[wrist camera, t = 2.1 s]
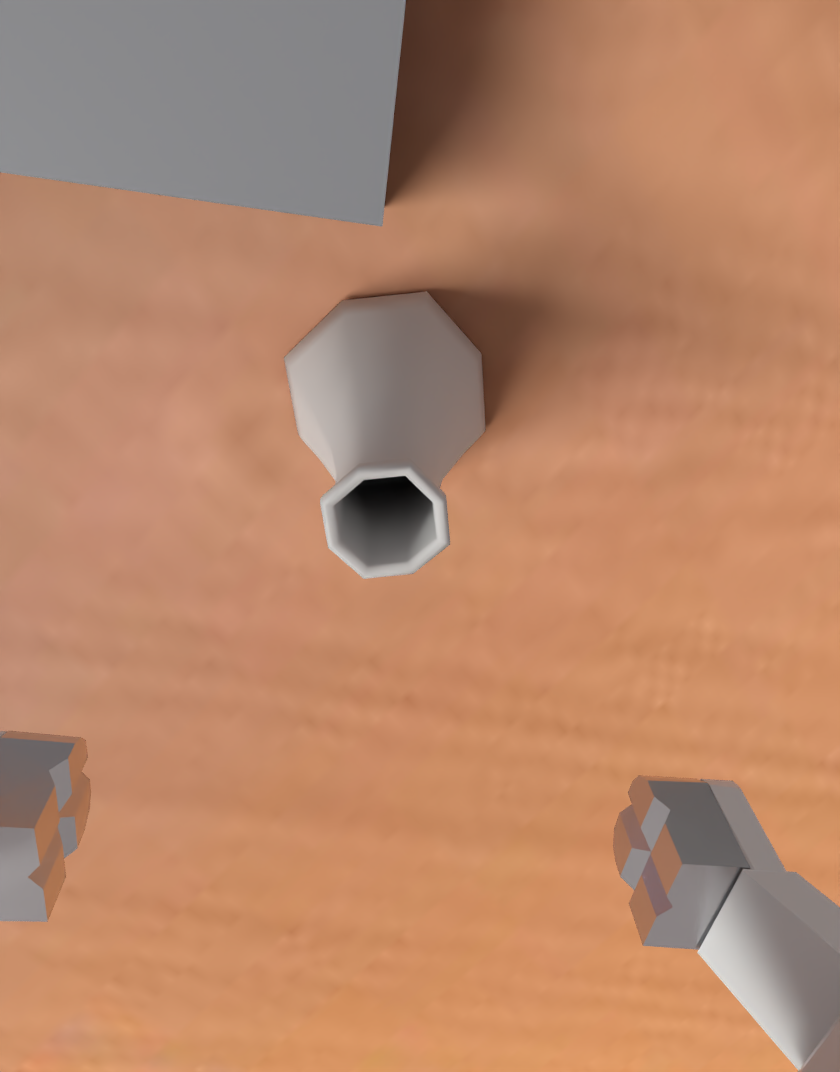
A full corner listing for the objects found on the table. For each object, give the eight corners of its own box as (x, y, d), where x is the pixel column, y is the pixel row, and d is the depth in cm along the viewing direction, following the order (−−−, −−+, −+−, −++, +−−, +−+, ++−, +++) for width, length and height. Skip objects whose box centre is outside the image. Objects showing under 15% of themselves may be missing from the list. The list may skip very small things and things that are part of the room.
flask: (440, 252, 25) (468, 327, 16) (515, 438, 28) (572, 584, 19) (249, 342, 26) (177, 458, 17) (343, 510, 29) (323, 677, 21)
